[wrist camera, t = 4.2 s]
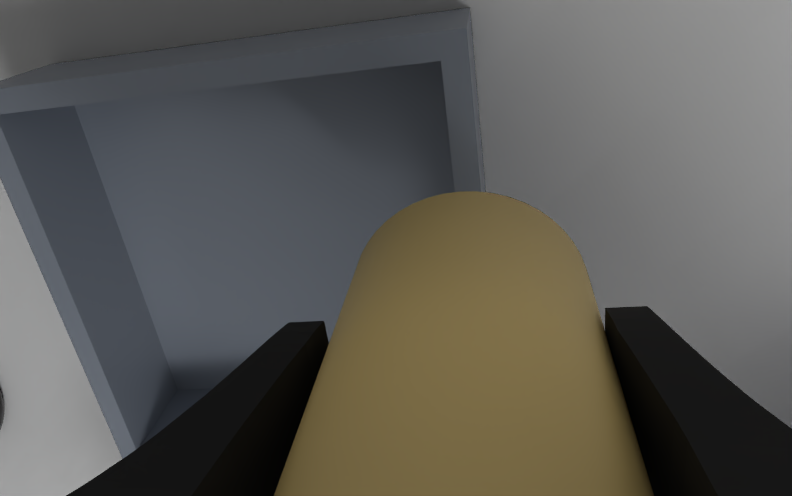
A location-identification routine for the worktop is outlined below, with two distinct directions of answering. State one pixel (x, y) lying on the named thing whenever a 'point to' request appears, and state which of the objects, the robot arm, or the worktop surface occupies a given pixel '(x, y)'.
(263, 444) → the robot arm
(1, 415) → the supplement bottle
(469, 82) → the bin
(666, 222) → the worktop surface
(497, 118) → the worktop surface
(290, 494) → the peg
